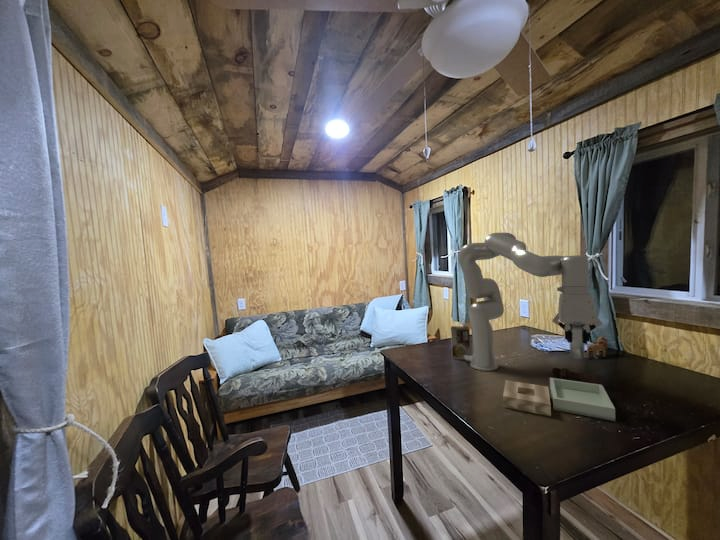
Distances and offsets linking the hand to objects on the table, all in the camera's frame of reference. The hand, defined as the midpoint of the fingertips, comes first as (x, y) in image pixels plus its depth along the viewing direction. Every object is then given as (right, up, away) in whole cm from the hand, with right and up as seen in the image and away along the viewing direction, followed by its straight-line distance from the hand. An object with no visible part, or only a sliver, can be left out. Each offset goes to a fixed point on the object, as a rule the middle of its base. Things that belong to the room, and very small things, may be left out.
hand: (576, 341), depth 98 cm
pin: (0, -5, 0) cm, 5 cm away
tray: (+1, -22, +1) cm, 22 cm away
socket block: (-16, -23, +3) cm, 28 cm away
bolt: (+12, -21, +17) cm, 30 cm away
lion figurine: (+42, -18, +41) cm, 61 cm away
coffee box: (-22, -22, +50) cm, 59 cm away
